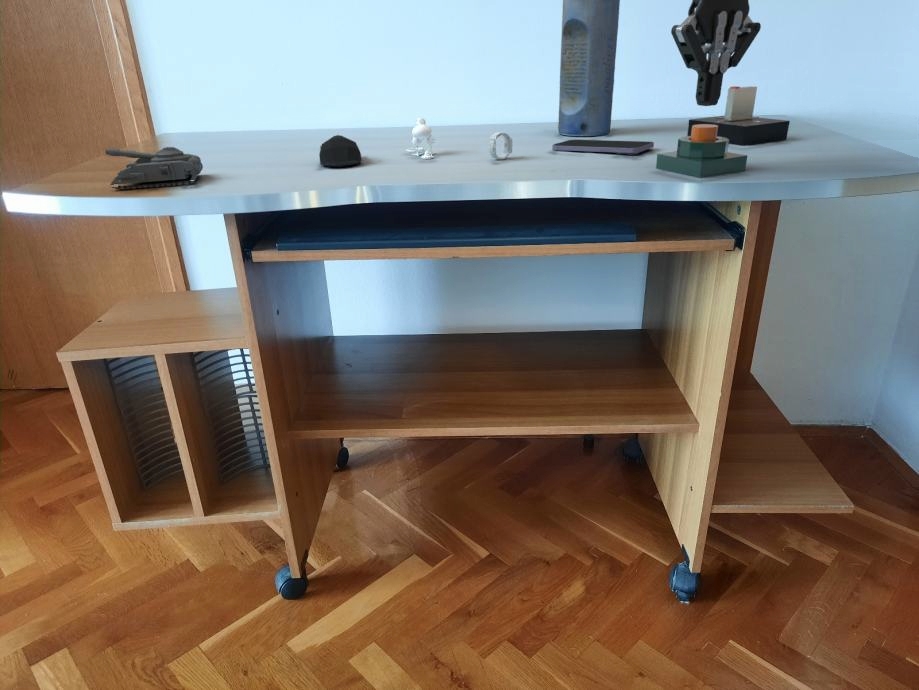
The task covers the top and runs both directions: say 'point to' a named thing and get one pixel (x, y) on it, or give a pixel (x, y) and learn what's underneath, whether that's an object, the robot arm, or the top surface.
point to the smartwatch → (506, 145)
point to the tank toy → (157, 168)
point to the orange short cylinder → (704, 132)
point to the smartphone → (604, 146)
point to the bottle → (587, 66)
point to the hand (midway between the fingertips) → (706, 105)
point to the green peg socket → (701, 158)
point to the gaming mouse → (339, 152)
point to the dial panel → (746, 129)
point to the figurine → (422, 138)
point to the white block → (740, 103)
